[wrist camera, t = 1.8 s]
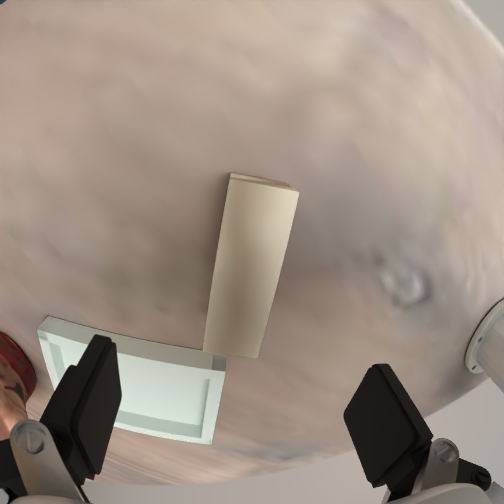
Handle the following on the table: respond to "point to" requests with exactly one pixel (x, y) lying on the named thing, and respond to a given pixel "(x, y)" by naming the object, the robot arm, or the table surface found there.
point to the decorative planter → (13, 385)
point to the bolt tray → (147, 380)
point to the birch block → (248, 263)
